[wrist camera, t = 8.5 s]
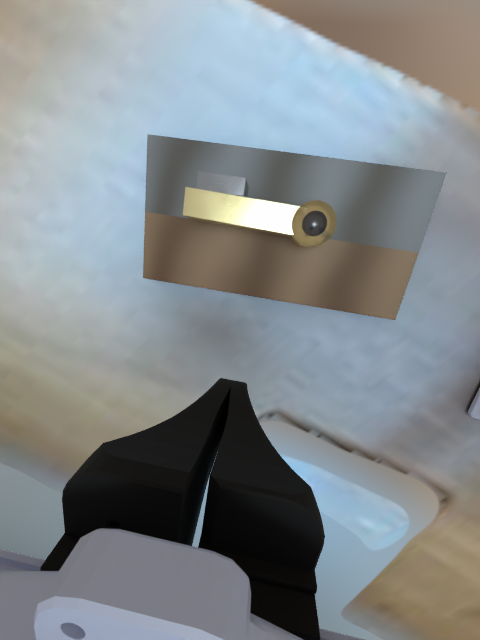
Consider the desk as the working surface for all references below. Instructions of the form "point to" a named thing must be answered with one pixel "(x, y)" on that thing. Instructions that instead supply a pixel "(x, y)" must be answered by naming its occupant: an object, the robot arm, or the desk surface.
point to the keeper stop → (222, 184)
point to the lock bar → (263, 215)
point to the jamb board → (280, 251)
